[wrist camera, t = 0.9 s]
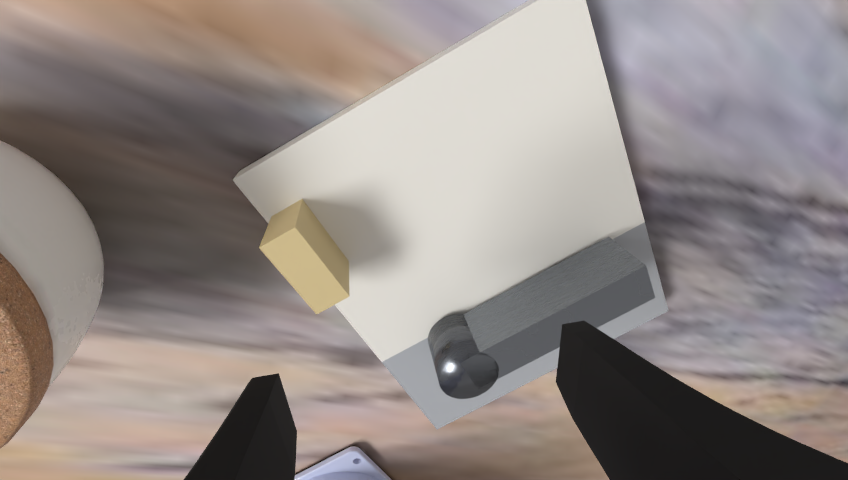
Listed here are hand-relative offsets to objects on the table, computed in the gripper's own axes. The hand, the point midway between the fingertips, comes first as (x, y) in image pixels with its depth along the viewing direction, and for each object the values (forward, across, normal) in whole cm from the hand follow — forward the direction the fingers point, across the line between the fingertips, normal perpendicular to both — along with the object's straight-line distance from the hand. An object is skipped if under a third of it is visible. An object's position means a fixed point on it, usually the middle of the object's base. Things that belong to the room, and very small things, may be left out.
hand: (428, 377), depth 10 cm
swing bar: (+8, -6, +5) cm, 11 cm away
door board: (+10, -4, +2) cm, 11 cm away
